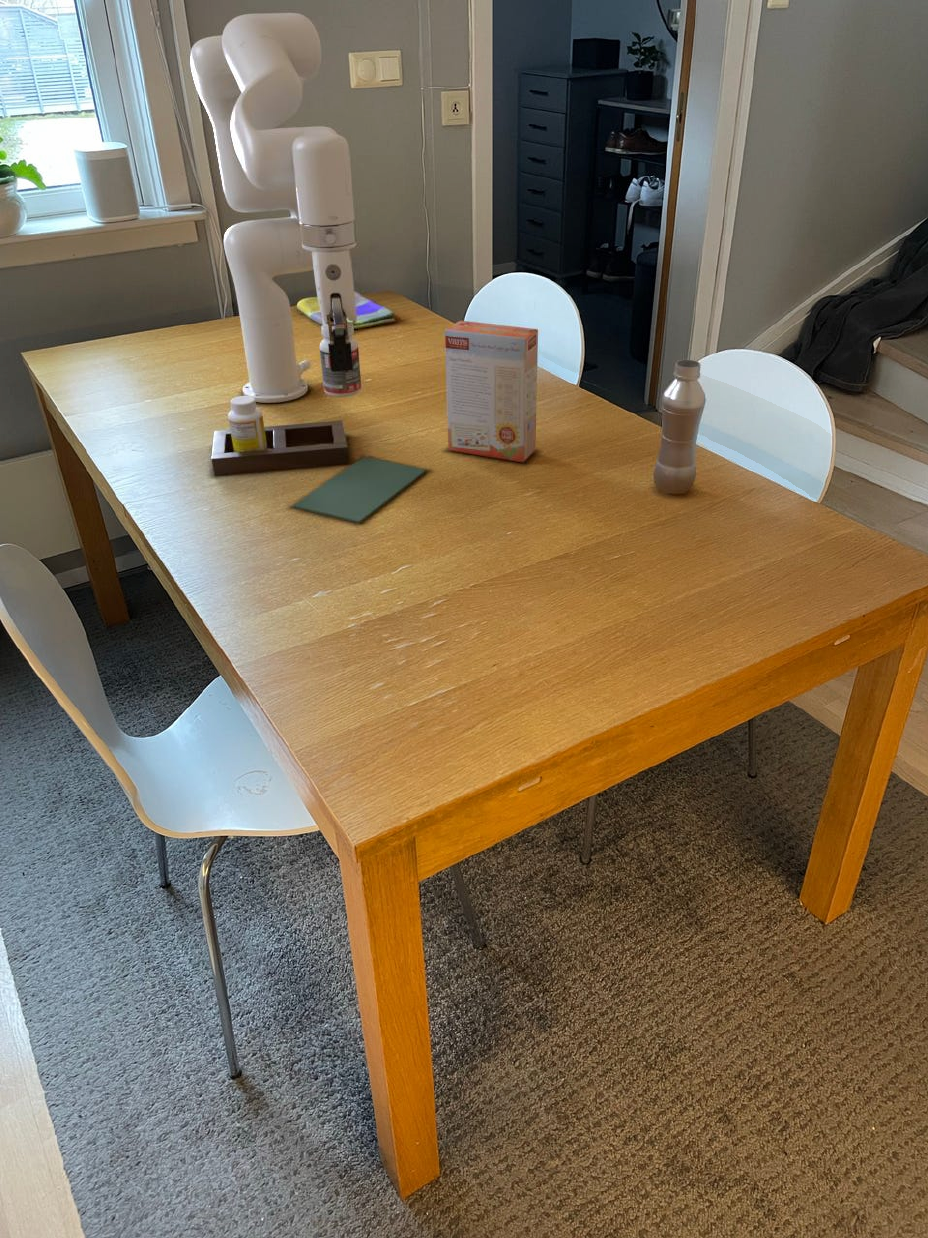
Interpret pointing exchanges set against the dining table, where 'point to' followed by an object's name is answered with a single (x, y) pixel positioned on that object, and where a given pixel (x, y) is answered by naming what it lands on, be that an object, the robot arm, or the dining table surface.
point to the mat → (360, 489)
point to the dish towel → (365, 312)
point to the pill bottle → (340, 380)
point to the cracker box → (491, 389)
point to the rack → (283, 449)
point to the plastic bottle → (680, 429)
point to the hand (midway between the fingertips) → (340, 361)
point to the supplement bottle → (246, 425)
